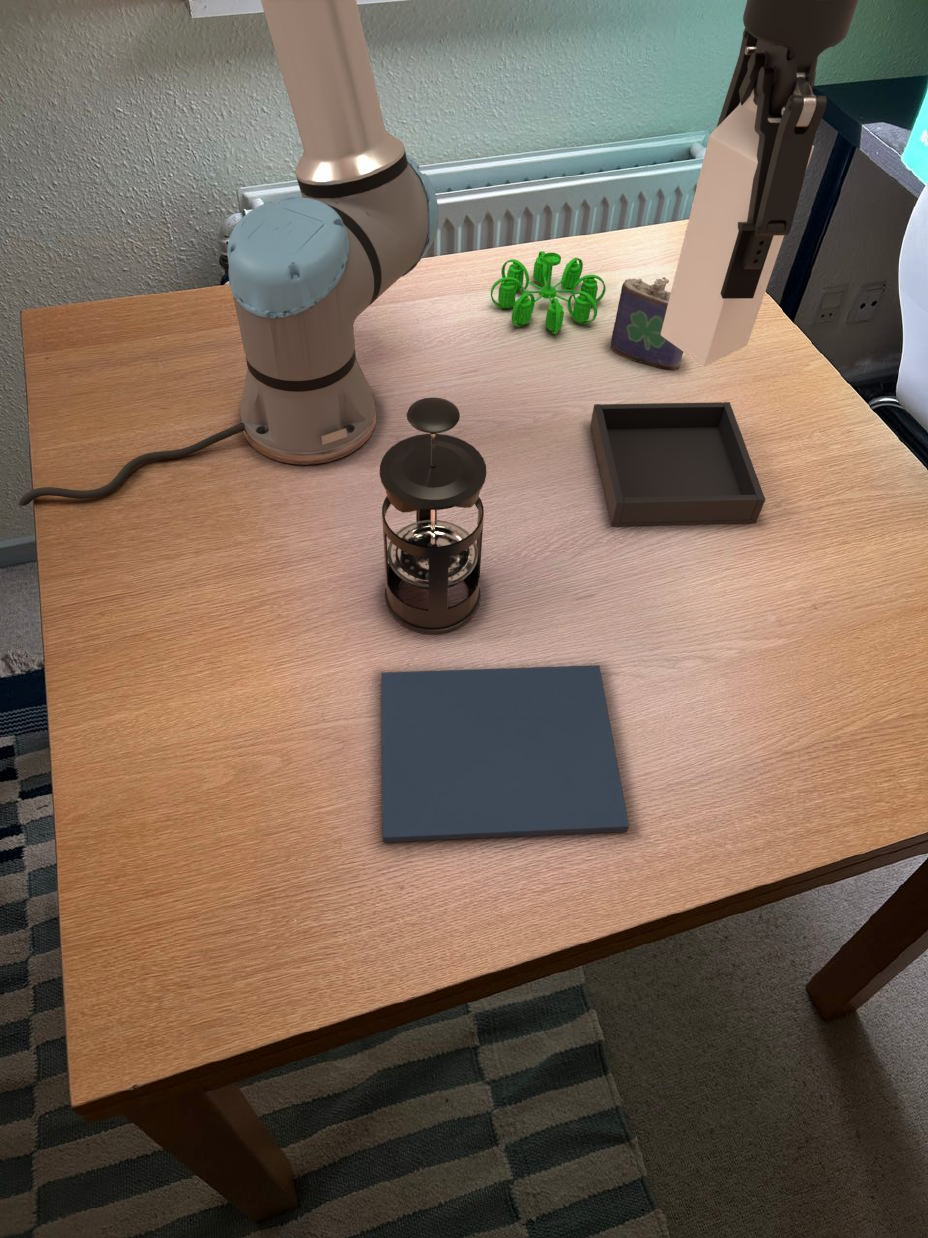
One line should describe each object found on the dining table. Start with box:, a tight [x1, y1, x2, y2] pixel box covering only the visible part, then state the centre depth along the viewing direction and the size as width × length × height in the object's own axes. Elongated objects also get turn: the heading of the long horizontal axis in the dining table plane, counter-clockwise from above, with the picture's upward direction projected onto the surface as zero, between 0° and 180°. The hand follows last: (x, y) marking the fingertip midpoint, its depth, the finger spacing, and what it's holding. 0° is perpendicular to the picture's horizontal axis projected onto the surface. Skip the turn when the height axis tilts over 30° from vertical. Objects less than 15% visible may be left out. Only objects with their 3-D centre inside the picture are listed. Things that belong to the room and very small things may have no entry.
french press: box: [379, 396, 488, 635], centre depth 81 cm, size 12×9×23 cm
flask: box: [610, 276, 684, 371], centre depth 110 cm, size 9×3×11 cm, turn 61°
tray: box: [589, 401, 766, 527], centre depth 100 cm, size 16×16×4 cm
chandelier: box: [490, 250, 606, 335], centre depth 118 cm, size 15×15×7 cm
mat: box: [381, 664, 630, 843], centre depth 79 cm, size 20×16×1 cm
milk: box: [661, 88, 815, 368], centre depth 79 cm, size 6×6×22 cm
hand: (724, 266), depth 82 cm, fingers closed on milk, 8 cm apart
